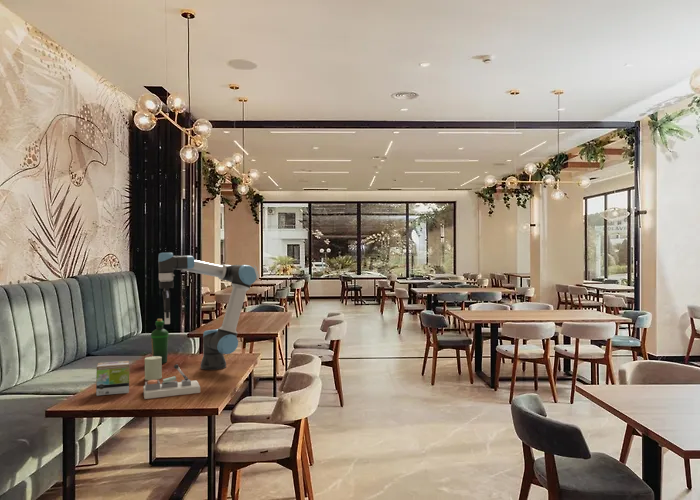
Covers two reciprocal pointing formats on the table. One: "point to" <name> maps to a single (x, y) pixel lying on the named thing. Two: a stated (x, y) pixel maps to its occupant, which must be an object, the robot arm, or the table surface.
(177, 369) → the toggle lever
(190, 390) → the switch panel
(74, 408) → the table surface
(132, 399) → the table surface
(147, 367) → the can
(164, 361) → the bottle
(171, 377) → the rocker switch
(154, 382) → the push button
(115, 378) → the tea box
